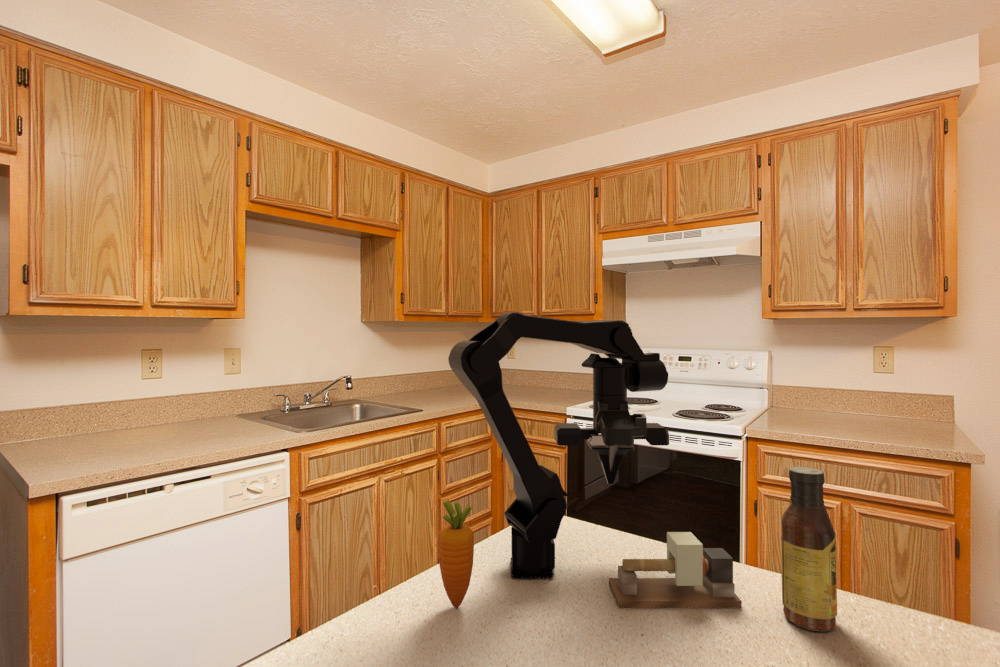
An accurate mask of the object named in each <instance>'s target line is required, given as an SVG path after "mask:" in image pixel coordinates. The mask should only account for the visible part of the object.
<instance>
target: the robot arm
mask: <svg viewBox="0 0 1000 667" xmlns="http://www.w3.org/2000/svg"><path fill="white" fill-rule="evenodd" d="M520 339H531V340H539V341H548V342H556V343H565V344H571V345H574V346H578V347H580V348H581V349H584V350H587V351H590V352H593V353H590V354H589V356H588V357H587V358H586V359H585V360H584V361H583V362H581V367H582V368H588V369H592V427H591V428H588V427H587V428H584V427H582V428H581V427H580V426H579V424H578V423H576V422H571V423H570V422H562V423H561V422H560V423H559V422H557V423H556V425H555V426H554V429H553V431H554V432H553V435H554V437H553V438H554V440H555V443H556V446H563V447H564V446H565V447H566V446H567V447H569V446H573V447H575V446H577V445H578V444H580V443H581V441H582V440H586V444H587V446H588V447H589V448H590V450H592V451H595V452H596V455H597V457H598V460H599V462H600V464H601V465H600V466H601V468H602V471H603V474H604V477H605V480H606V483H607V484H608V485H614V482H615V480H616V476H617V474H618V472H619V468H620V466H621V463H622V461H623V459H624V457H625V455H627V453H628V452H630V451H634V450H635V447H636V446H634V443H635V440H645V441H646V442H647V443H648V444H649V445H650V446H669V445H670V432H669V431H668V429H667V428H666V427H664V425H661V424H660V423H658V422H647V416H646V415H645V413H633V414H630V410H629V401H628V391H629V392H631V393H639V392H651V391H652V392H654V391H655V392H656V391H661V390H663V389H665V387H666V386H667V384H668V382H669V372H668V370H667V367H666V365H665V364H664V362H663V361H662V360H661V359H660V358H661V355H660V354H661V353H659V352H646V353H645V352H644V351H643V350H642V348H641V347H640V345H639V343H638V341H637V340H636V339H635V337H634V334H633V331H632V329H631V327H630V324H629V322H626V321H624V320H598V321H597V320H595V321H582V322H581V321H576V320H575V321H573V320H565V319H560V318H559V319H558V318H550V317H545V316H539V315H538V316H537V315H529V314H524V313H522V312H518V311H515V312H514V311H513V312H504V313H502V314H501V315H500V316H499V317H498V318H496V319H495V320H494V321H493V322H492V323H490V324H489V325H487V326H486V327H485V328H483V329H481V330H480V331H478V332H477V333H475V334H474V335H473V336H471V338H469V339H468V340H463V341H459V342H457V343H456V344H455V345H453V347H452V348H451V350H450V352H449V355H448V358H447V359H448V360H447V361H448V364H449V368H450V369H451V370H452V372H453V374H454V375H455V376H456V377H457V379H458V380H459V381H460V382H461V384H462V385H463V386H464V387H465V388H466V390H467V391H468V392H469V393H470V394H471V395H472V396H473V397H474V399H475V400H476V402H477V403H478V405H479V407H480V410H481V411H482V414H483V416H484V418H485V420H486V421H487V424H488V426H489V427H490V430H491V432H492V434H493V436H494V438H495V439H496V443H497V444H498V446H499V448H500V450H501V452H502V455H503V456H504V459H505V460H506V463H507V465H508V466H509V468H510V470H511V473H512V476H513V477H512V478H513V489H514V493H515V496H516V498H515V499H514V500H513V502H512V503H511V504H510V505H509V507H507V509H506V510H505V511H504V517H505V521H506V523H507V525H509V526H510V527H511V528H510V529H511V533H510V534H511V535H510V536H511V539H510V540H511V557H510V578H512V579H519V580H520V579H523V580H524V579H525V580H526V579H553V578H554V573H553V570H555V569H556V553H555V552H556V544H555V539H557V536H558V533H559V529H560V526H561V522H562V521H563V520H562V519H564V516H565V514H566V511H567V509H568V503H567V499H566V497H568V496H569V494H568V493H567V492H566V491H565V490H564V488H563V486H562V483H561V480H560V477H559V475H558V473H556V472H555V471H552V470H551V469H549V468H547V467H546V466H544V465H541V464H539V463H538V460H537V458H536V456H535V454H534V452H533V450H532V448H531V446H530V444H529V441H528V440H527V437H526V435H525V433H524V431H523V429H522V427H521V425H520V422H519V421H518V418H517V417H516V415H515V412H514V411H513V408H512V406H511V404H510V401H509V399H508V398H507V395H506V394H505V392H504V387H503V385H504V384H503V372H502V369H501V365H500V361H502V360H503V358H504V357H505V356H506V355H507V354H509V352H510V351H511V349H512V348H513V346H515V344H516V343H517V342H518V341H519V340H520ZM600 354H604V355H605V356H606V357H601V356H600ZM618 359H619V360H621V362H620V361H619V360H618Z"/></svg>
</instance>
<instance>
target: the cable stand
mask: <svg viewBox="0 0 1000 667" xmlns="http://www.w3.org/2000/svg"><path fill="white" fill-rule="evenodd" d="M667 571H675V559H667V558H623V559H622V565H617V578H616V577H610V578H608V587H609V588H610V591H611V594H612V595H613V597H614V598H613V599H614V601H615V603H616V606H617V608H618V609H742V606H743V605H742V602H743V601H742V600H741V599H740V597H739V596H738V595H737V594H736V593H735V591H736V590H735V589H736V588H735V583H734V558H733V557H732V556H731V555H730V554H729V553H728V552H727V551H726V550H725V549H724V548H723V547H707V548H706V547H703V586H677V585H676V583H675V577H638V575H637V573H636V572H667Z"/></svg>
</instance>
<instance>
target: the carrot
mask: <svg viewBox="0 0 1000 667" xmlns="http://www.w3.org/2000/svg"><path fill="white" fill-rule="evenodd" d="M453 504H454V507H455V509H454V507H453V505H452V502H451V501H450V500H449V499H446V500H444V501H443V506H444V509H445V510H446V511H447V513H448V515H447V514H443V515H442V519H444V520H445V521H446V522H447V523H448V524H446V525H445V526H444V527H443V528H442V529H441V530H439V531H438V536H437V538H438V539H437V542H438V543H437V544H438V546H437V547H438V564H439V569H440V570H439V571H440V575H441V580H442V585H443V587H444V590H445V593H446V596H447V597H448V599H449V601H450V603H451V605H452V607H454V609H458V608H459V607H460V606H461V605H462V603H463V601H464V599H465V596H466V595H467V591H468V590H469V586H470V582H471V577H472V573H473V572H472V571H473V566H474V553H475V552H474V551H475V550H474V548H475V536H474V535H475V534H474V531H473V530H472V529H471V528H470V527H469V526H468V525H467V524H465V521H466V519H467V517H468V515H469V513H470V512H471V511H472V508H473V507H472V506H471V505H466V506H465V507H464V509H463V510H462V506H461V503H460V502H454V503H453Z"/></svg>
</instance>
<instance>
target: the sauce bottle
mask: <svg viewBox="0 0 1000 667" xmlns="http://www.w3.org/2000/svg"><path fill="white" fill-rule="evenodd" d="M788 478H789V481H790V482H789V483H790V496H789V500H790V504H789V505H788V507H787V508H786V509H785V510H784V511H783V514H782V517H781V536H780V543H781V544H780V555H781V557H780V559H781V560H780V561H781V602H782V605H783V607H782V609H783V614H784V617H785V618H786V619H787V620H788V621H789V622H791V623H793V624H794V625H795V626H798V627H800V628H802V629H805V630H808V631H813V632H821V633H824V632H825V633H826V632H829V631H832V630H834V628H835V627H836V623H837V621H836V618H837V616H838V594H837V593H838V591H837V588H838V587H837V585H838V584H837V582H838V578H837V546H836V545H837V541H836V539H837V538H836V537H837V536H836V532H835V529H834V527H833V524H832V522H831V518H830V516H829V513H828V510H827V509H826V508H827V507H826V506H825V500H824V484H825V482H826V481H825V480H826V479H825V473H824V471H823V470H821V469H819V468H818V469H817V468H813V467H807V466H792V467H789V469H788Z"/></svg>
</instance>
